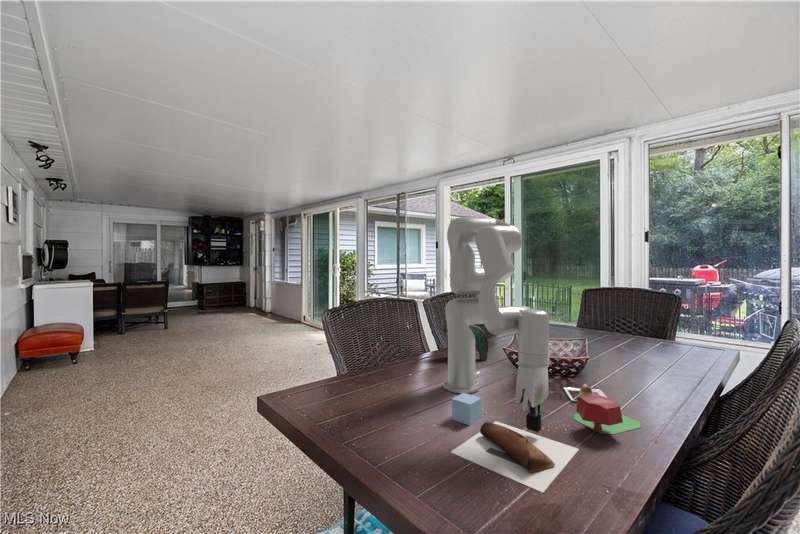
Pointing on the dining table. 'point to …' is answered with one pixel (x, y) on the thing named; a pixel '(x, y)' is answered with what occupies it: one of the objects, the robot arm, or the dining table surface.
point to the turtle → (603, 415)
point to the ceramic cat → (480, 340)
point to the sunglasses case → (517, 447)
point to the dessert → (583, 391)
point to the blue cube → (466, 408)
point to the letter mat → (504, 464)
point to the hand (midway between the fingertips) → (533, 429)
